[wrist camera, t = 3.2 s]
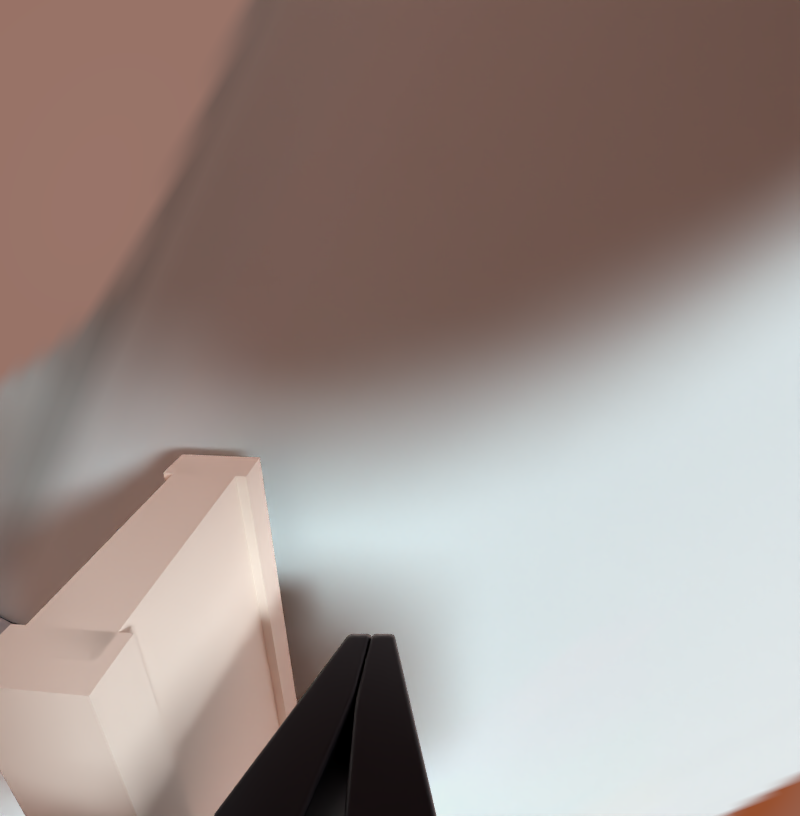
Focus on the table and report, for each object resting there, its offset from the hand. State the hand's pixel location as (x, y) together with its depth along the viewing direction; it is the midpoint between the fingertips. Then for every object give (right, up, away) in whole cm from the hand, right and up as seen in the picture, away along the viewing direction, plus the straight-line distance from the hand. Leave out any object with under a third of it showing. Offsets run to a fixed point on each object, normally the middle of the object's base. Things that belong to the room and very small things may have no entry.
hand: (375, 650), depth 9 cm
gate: (-3, -3, +4) cm, 5 cm away
